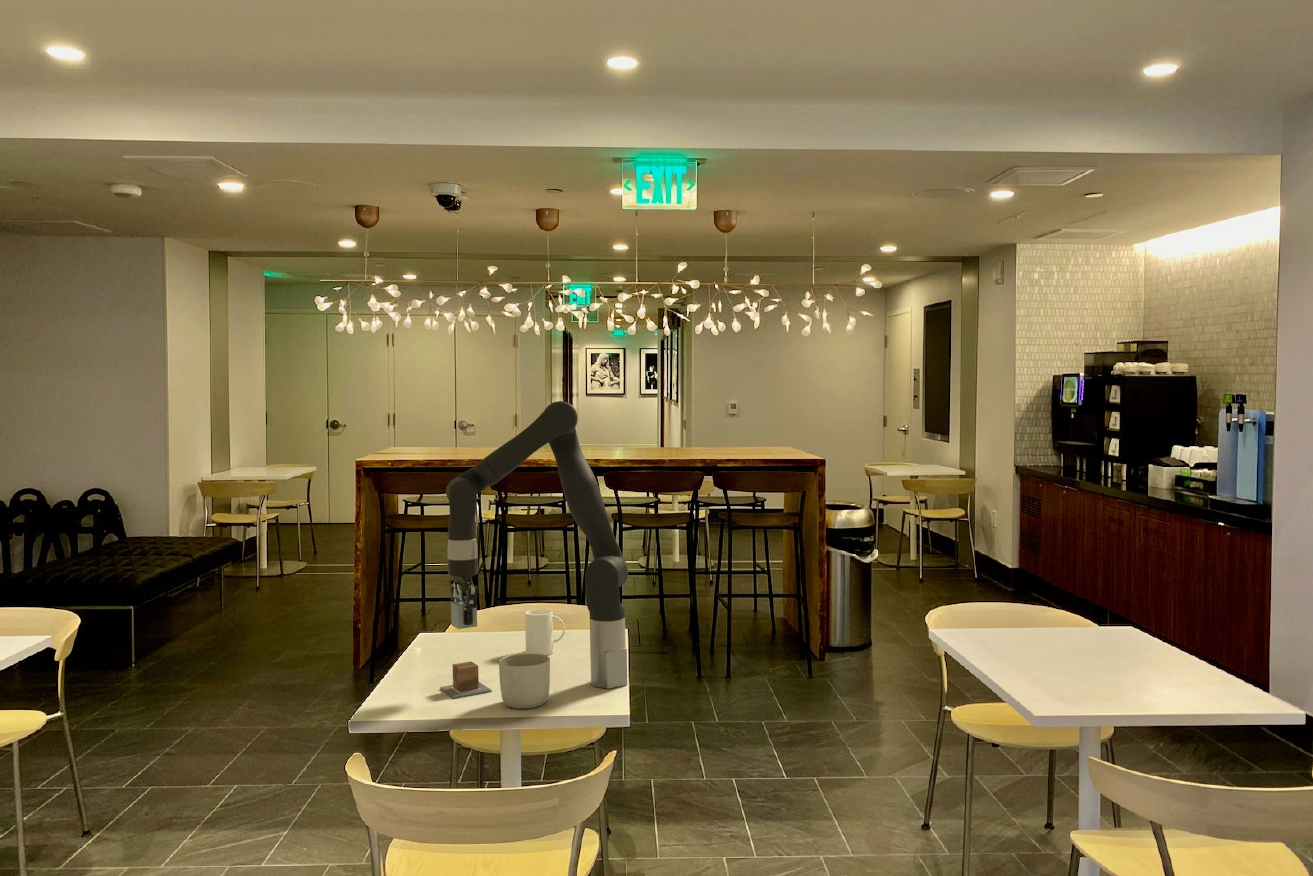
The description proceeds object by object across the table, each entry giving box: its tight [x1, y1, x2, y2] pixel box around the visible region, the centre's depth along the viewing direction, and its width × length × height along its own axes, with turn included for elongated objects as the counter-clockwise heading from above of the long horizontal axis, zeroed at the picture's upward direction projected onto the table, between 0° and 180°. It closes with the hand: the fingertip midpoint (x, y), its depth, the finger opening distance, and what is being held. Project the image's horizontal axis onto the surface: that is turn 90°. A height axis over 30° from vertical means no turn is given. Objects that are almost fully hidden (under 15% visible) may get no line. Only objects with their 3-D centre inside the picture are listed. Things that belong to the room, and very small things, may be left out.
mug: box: [524, 608, 566, 656], centre depth 279 cm, size 12×8×12 cm
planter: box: [498, 652, 551, 710], centre depth 231 cm, size 12×12×11 cm
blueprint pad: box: [439, 681, 493, 699], centre depth 243 cm, size 10×10×1 cm
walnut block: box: [452, 661, 480, 692], centre depth 243 cm, size 5×5×6 cm
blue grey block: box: [450, 601, 478, 630], centre depth 243 cm, size 5×5×6 cm
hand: (464, 622), depth 243 cm, fingers closed on blue grey block, 5 cm apart
